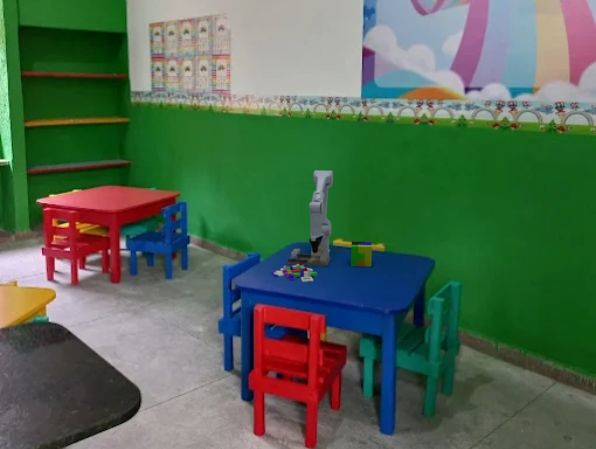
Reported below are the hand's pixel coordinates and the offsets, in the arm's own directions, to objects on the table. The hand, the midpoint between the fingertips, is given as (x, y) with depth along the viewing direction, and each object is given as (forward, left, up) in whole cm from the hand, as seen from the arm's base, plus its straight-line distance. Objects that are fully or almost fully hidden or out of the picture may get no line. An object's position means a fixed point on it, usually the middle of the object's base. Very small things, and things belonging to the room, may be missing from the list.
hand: (316, 251), depth 312 cm
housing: (0, 0, -2) cm, 2 cm away
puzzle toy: (-4, +22, -6) cm, 24 cm away
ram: (0, -11, -4) cm, 11 cm away
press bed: (0, -4, -6) cm, 7 cm away
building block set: (+20, -7, -7) cm, 22 cm away
